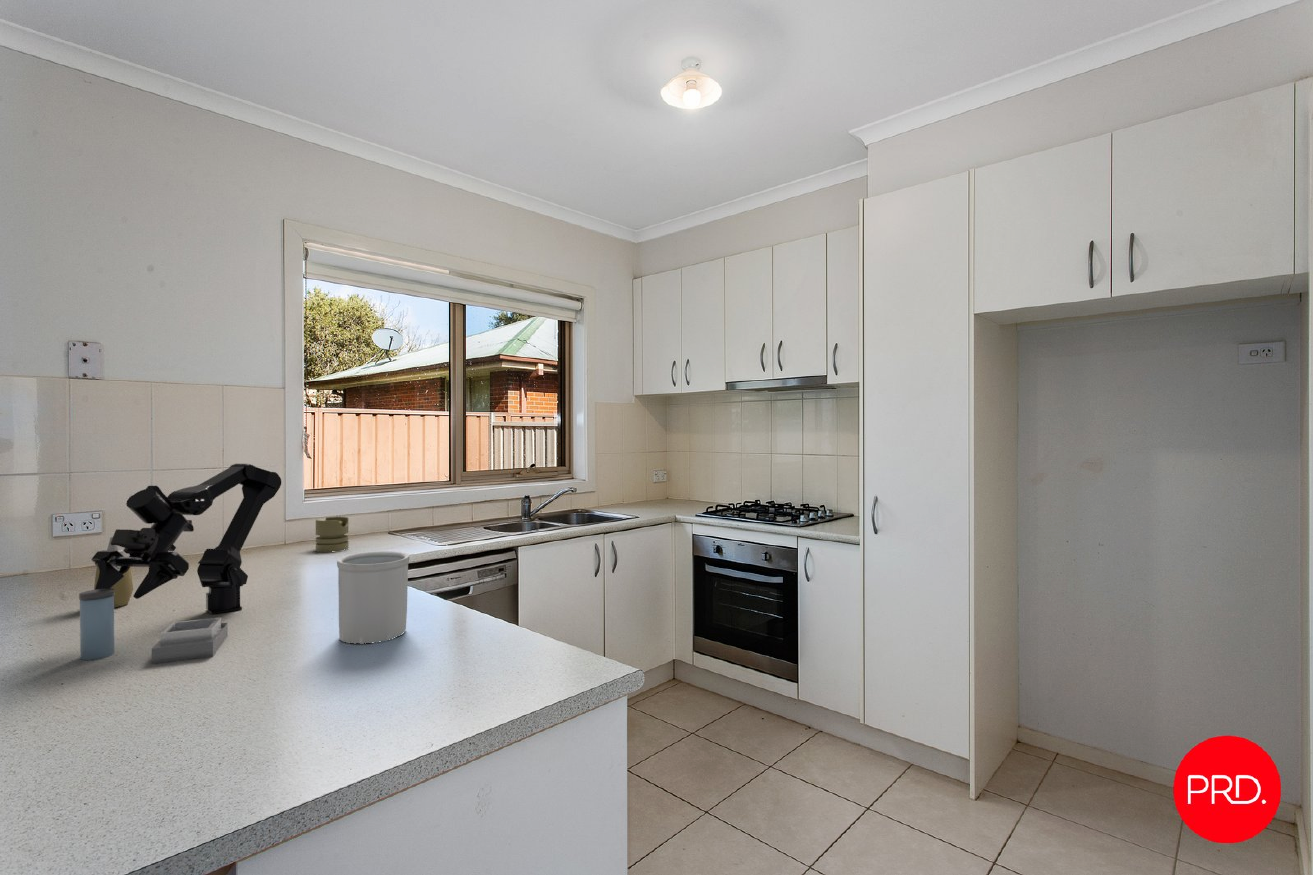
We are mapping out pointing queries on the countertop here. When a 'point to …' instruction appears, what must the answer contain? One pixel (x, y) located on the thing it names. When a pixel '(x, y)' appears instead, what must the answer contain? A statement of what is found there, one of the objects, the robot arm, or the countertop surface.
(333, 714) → the countertop surface
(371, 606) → the utensil holder
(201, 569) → the robot arm
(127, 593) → the squeeze bottle
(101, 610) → the capped blue cylinder
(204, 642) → the gray rectangular open-top holder
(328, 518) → the piston
